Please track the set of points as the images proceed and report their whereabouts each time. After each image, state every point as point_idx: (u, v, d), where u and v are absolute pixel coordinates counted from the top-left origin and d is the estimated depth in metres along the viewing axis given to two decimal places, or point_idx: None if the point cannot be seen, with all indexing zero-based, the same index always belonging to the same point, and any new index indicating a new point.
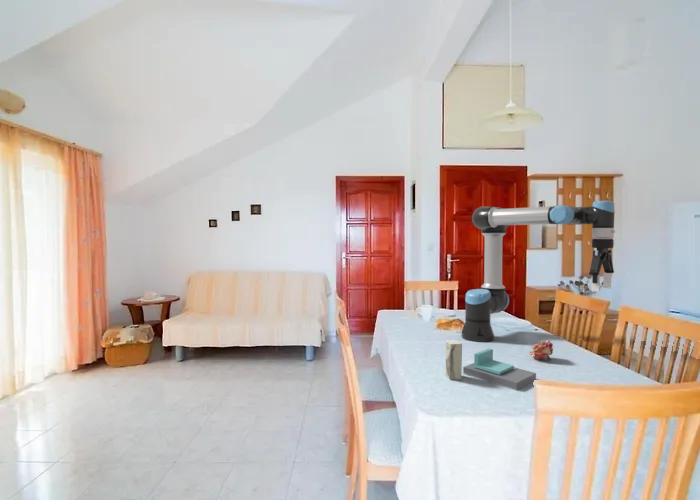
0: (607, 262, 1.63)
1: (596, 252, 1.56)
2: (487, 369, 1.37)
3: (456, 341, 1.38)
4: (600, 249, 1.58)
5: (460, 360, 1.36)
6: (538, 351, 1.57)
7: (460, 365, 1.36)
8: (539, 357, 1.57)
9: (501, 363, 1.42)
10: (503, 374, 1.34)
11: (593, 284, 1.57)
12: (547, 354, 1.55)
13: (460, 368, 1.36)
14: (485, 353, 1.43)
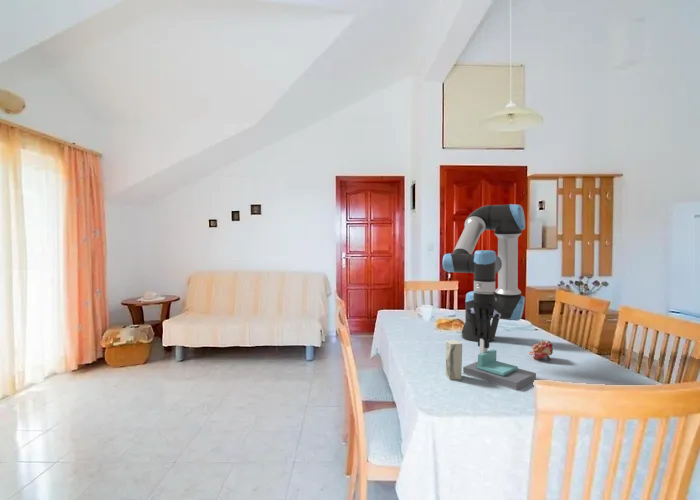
0: None
1: None
2: (491, 370, 1.36)
3: (456, 341, 1.38)
4: None
5: (460, 360, 1.36)
6: (538, 351, 1.57)
7: (460, 365, 1.36)
8: (539, 357, 1.57)
9: (505, 364, 1.41)
10: None
11: None
12: (547, 354, 1.55)
13: (460, 368, 1.36)
14: (489, 354, 1.42)
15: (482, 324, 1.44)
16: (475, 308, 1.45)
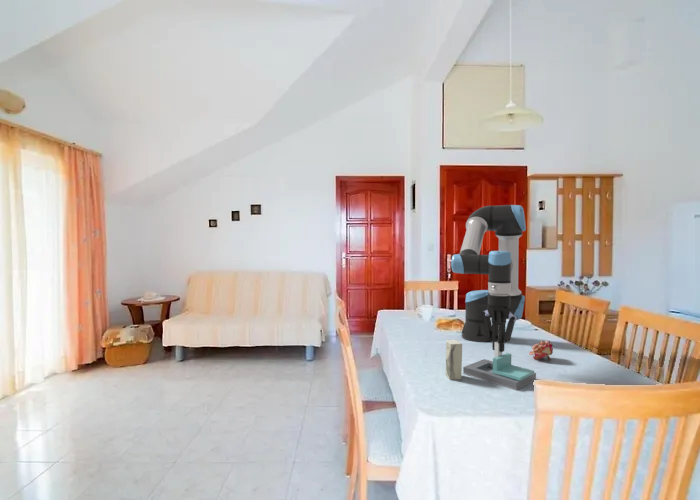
0: None
1: None
2: (507, 375, 1.32)
3: (456, 341, 1.38)
4: None
5: (460, 360, 1.36)
6: (538, 351, 1.57)
7: (460, 365, 1.36)
8: (539, 357, 1.57)
9: (520, 368, 1.37)
10: None
11: None
12: (547, 354, 1.55)
13: (460, 368, 1.36)
14: (504, 358, 1.37)
15: (497, 327, 1.39)
16: (489, 310, 1.40)
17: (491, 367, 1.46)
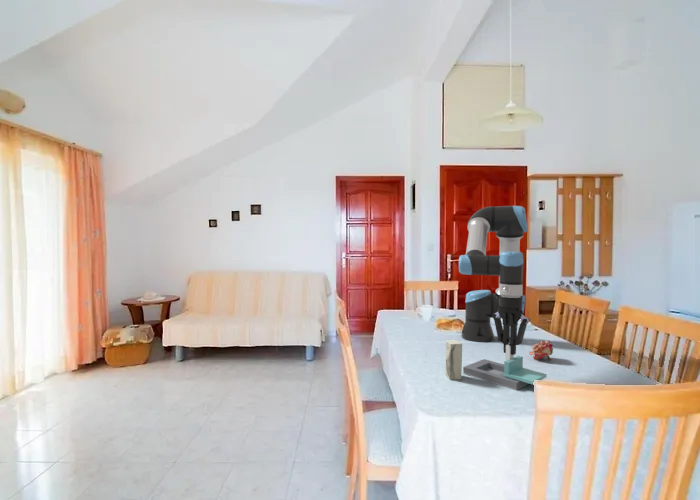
0: None
1: None
2: (519, 378, 1.28)
3: (456, 341, 1.38)
4: None
5: (460, 360, 1.36)
6: (538, 351, 1.57)
7: (460, 365, 1.36)
8: (539, 357, 1.57)
9: (532, 372, 1.33)
10: None
11: None
12: (547, 354, 1.55)
13: (460, 368, 1.36)
14: (515, 361, 1.34)
15: (508, 329, 1.36)
16: (500, 312, 1.37)
17: (491, 367, 1.46)
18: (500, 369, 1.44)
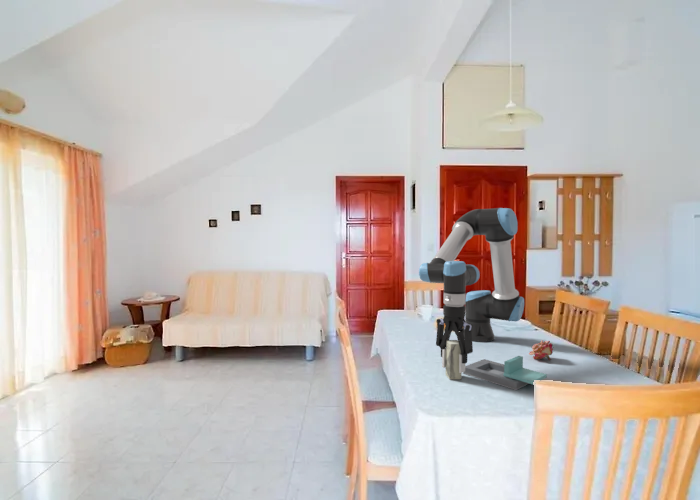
0: None
1: None
2: (519, 378, 1.28)
3: (456, 341, 1.38)
4: None
5: None
6: (538, 351, 1.57)
7: None
8: (539, 357, 1.57)
9: (533, 372, 1.33)
10: (503, 374, 1.34)
11: None
12: (547, 354, 1.55)
13: None
14: (515, 361, 1.34)
15: (448, 336, 1.40)
16: (445, 321, 1.39)
17: (491, 367, 1.46)
18: (500, 369, 1.44)
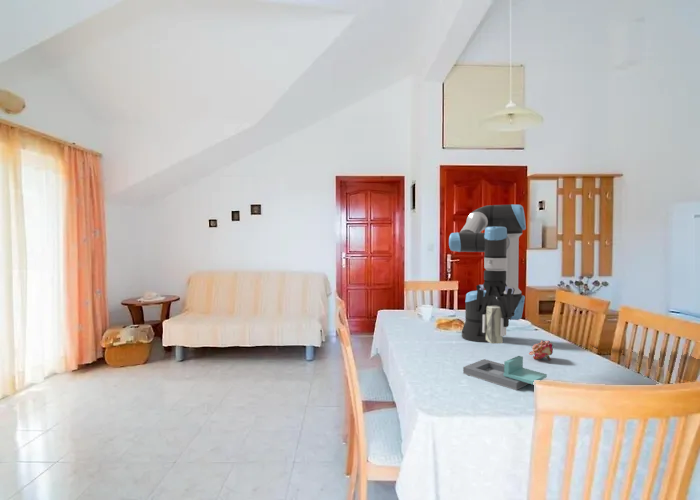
0: None
1: None
2: (519, 378, 1.28)
3: (496, 306, 1.40)
4: None
5: None
6: (538, 351, 1.57)
7: None
8: (539, 357, 1.57)
9: (533, 372, 1.33)
10: (503, 374, 1.34)
11: None
12: (547, 354, 1.55)
13: None
14: (515, 361, 1.34)
15: (488, 301, 1.42)
16: (485, 286, 1.41)
17: (491, 367, 1.46)
18: (500, 369, 1.44)
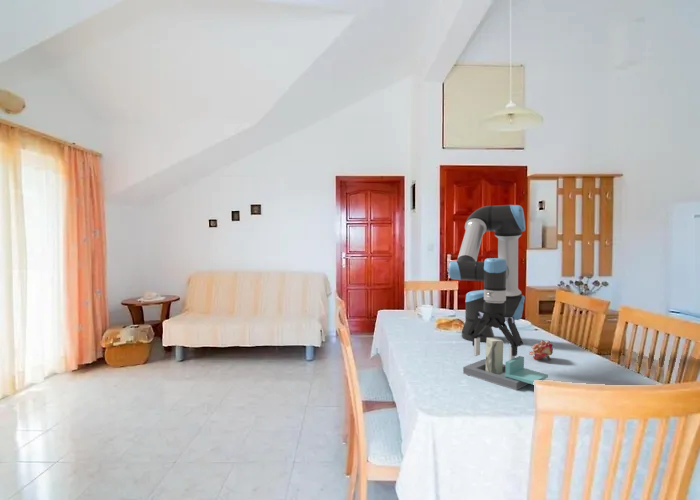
0: None
1: None
2: (520, 379, 1.28)
3: (497, 338, 1.41)
4: None
5: (501, 357, 1.38)
6: (538, 351, 1.57)
7: (501, 362, 1.38)
8: (539, 357, 1.57)
9: (534, 372, 1.33)
10: (503, 374, 1.34)
11: None
12: (547, 354, 1.55)
13: (501, 365, 1.38)
14: (516, 361, 1.34)
15: (483, 329, 1.44)
16: (484, 317, 1.42)
17: None
18: None
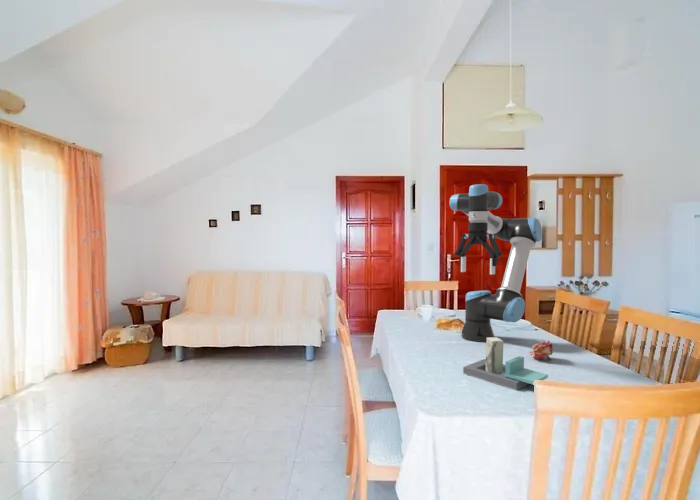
0: None
1: None
2: (520, 379, 1.28)
3: (497, 338, 1.41)
4: None
5: (501, 357, 1.38)
6: (538, 351, 1.57)
7: (501, 362, 1.38)
8: (539, 357, 1.57)
9: (534, 372, 1.33)
10: (503, 374, 1.34)
11: None
12: (547, 354, 1.55)
13: (501, 365, 1.38)
14: (516, 361, 1.34)
15: (468, 248, 1.66)
16: (469, 237, 1.64)
17: None
18: None
